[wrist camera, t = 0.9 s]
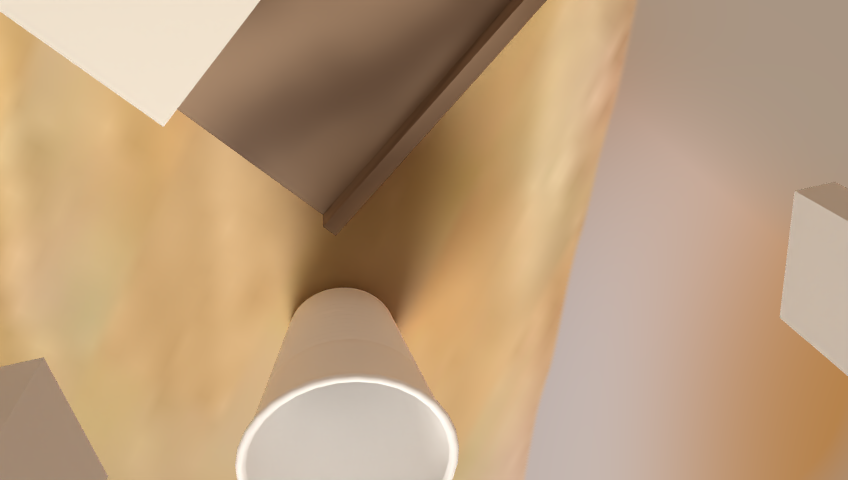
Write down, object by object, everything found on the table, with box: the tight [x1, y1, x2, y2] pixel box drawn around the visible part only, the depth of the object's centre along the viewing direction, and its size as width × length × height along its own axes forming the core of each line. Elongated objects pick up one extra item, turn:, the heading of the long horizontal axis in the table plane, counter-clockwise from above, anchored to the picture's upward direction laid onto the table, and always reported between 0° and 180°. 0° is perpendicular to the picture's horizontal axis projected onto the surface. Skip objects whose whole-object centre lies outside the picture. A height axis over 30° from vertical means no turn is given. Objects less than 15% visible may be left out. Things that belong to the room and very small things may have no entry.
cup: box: [235, 287, 459, 480], centre depth 34 cm, size 10×10×11 cm
